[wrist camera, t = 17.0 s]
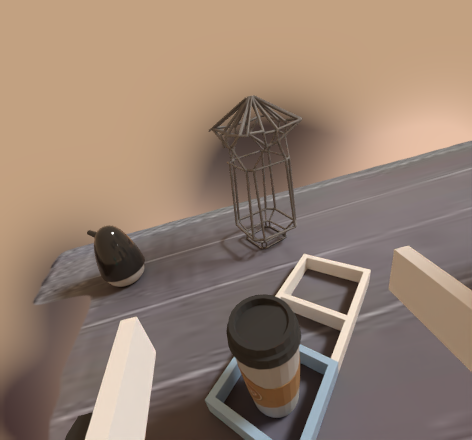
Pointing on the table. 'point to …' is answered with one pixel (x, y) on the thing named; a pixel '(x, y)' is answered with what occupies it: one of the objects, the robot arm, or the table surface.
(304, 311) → the gap frame
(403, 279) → the robot arm
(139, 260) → the pump dispenser
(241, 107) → the geometric lantern
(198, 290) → the table surface
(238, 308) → the coffee cup
